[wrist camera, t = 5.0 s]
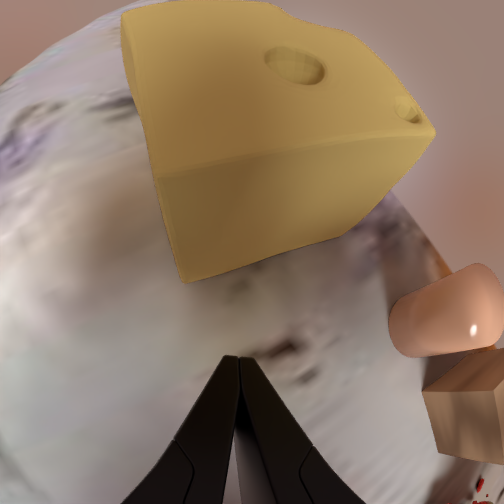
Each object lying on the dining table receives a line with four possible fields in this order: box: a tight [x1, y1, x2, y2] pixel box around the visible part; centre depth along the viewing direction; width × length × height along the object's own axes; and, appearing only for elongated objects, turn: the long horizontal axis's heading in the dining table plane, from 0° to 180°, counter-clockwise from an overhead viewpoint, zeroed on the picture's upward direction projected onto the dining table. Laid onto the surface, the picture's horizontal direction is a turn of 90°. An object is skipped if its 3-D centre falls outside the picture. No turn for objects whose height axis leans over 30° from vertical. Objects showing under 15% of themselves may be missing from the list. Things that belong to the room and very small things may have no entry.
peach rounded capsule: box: [389, 263, 504, 358], centre depth 14 cm, size 4×4×6 cm
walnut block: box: [422, 348, 504, 465], centre depth 12 cm, size 5×5×6 cm
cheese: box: [121, 0, 436, 284], centre depth 14 cm, size 10×11×10 cm
